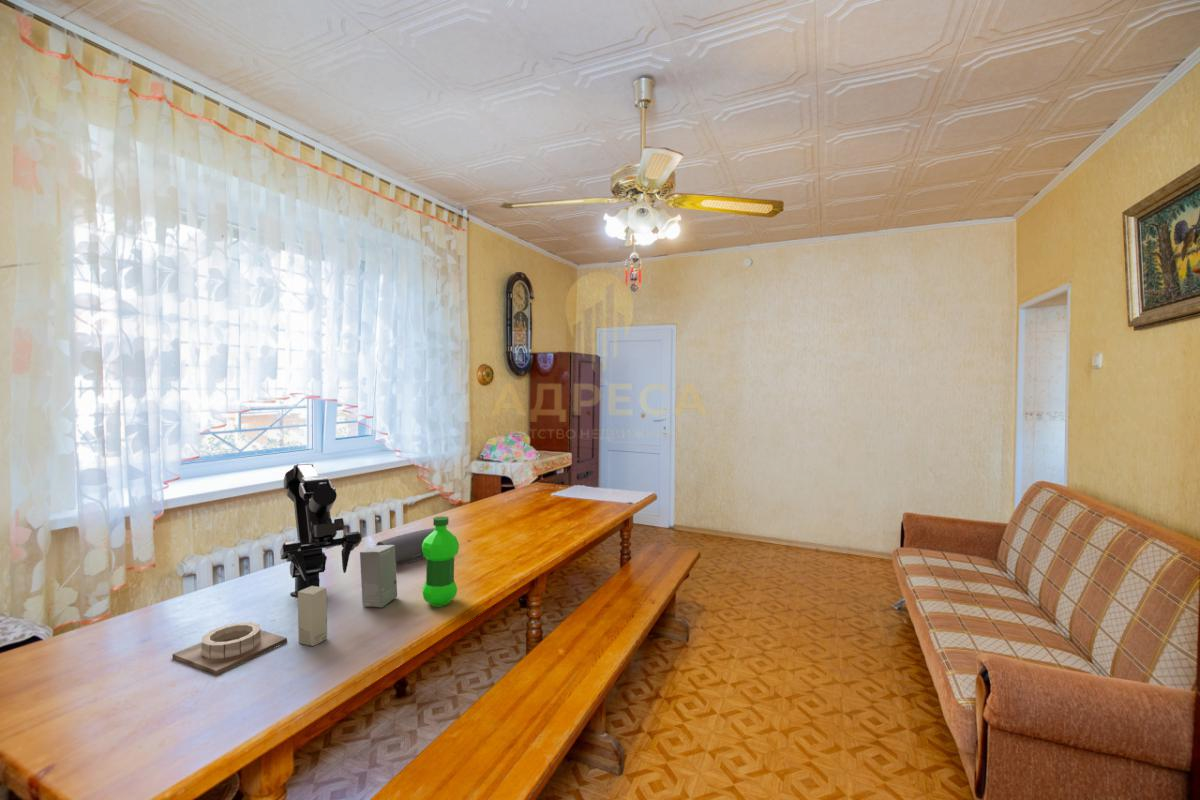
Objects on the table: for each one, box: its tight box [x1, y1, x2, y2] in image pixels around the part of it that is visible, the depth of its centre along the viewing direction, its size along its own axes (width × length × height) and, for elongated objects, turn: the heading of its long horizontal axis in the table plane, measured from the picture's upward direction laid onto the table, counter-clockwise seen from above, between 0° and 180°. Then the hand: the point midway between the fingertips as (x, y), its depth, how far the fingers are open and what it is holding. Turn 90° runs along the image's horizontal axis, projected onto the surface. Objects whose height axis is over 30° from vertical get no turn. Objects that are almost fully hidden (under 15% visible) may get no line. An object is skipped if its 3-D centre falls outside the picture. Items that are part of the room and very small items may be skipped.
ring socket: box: [172, 621, 288, 676], centre depth 121 cm, size 16×16×4 cm
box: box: [297, 586, 328, 647], centre depth 126 cm, size 5×4×13 cm
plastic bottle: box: [422, 516, 460, 607], centre depth 149 cm, size 10×10×25 cm
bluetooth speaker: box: [375, 527, 435, 566], centre depth 185 cm, size 23×9×10 cm, turn 144°
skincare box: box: [359, 544, 398, 608], centre depth 149 cm, size 8×7×16 cm
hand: (325, 576), depth 134 cm, fingers open, 9 cm apart
